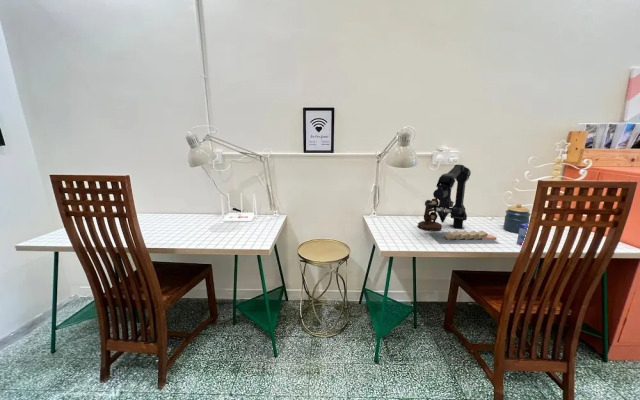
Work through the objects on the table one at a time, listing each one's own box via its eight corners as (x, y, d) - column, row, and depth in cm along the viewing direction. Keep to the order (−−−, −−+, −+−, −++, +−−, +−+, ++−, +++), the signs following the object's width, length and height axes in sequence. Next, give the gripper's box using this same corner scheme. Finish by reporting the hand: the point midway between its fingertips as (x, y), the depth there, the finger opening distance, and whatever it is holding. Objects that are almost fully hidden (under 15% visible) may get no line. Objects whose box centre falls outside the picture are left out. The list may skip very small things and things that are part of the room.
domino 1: (447, 237, 156) (460, 233, 155) (443, 234, 160) (456, 230, 160) (447, 240, 156) (461, 236, 155) (444, 237, 161) (457, 233, 160)
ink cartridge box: (526, 248, 144) (531, 223, 141) (515, 244, 149) (519, 220, 146) (537, 245, 148) (542, 220, 145) (526, 241, 153) (530, 217, 150)
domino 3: (465, 237, 155) (478, 233, 155) (460, 234, 160) (473, 230, 160) (465, 240, 156) (479, 235, 155) (461, 237, 161) (474, 232, 160)
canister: (526, 229, 174) (531, 203, 170) (528, 235, 163) (533, 207, 159) (502, 225, 181) (506, 200, 177) (502, 231, 170) (507, 204, 166)
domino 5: (482, 237, 155) (496, 237, 155) (477, 234, 160) (491, 234, 160) (482, 240, 155) (496, 240, 155) (477, 236, 160) (491, 236, 160)
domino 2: (455, 237, 155) (469, 233, 155) (451, 234, 160) (465, 230, 160) (456, 240, 156) (470, 236, 155) (452, 237, 161) (465, 233, 160)
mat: (427, 232, 169) (427, 232, 169) (481, 232, 168) (481, 232, 168) (439, 244, 151) (439, 243, 151) (500, 244, 150) (500, 243, 150)
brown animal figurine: (426, 223, 188) (428, 195, 183) (446, 229, 176) (449, 199, 171) (413, 227, 180) (415, 198, 175) (433, 233, 168) (435, 203, 163)
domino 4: (473, 237, 155) (487, 233, 155) (469, 234, 160) (482, 230, 159) (474, 239, 156) (487, 235, 155) (469, 236, 161) (482, 232, 160)
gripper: (467, 196, 153) (464, 222, 157) (435, 192, 166) (432, 216, 170) (460, 200, 146) (457, 227, 149) (427, 195, 159) (425, 220, 162)
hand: (442, 222), depth 158 cm, fingers closed
